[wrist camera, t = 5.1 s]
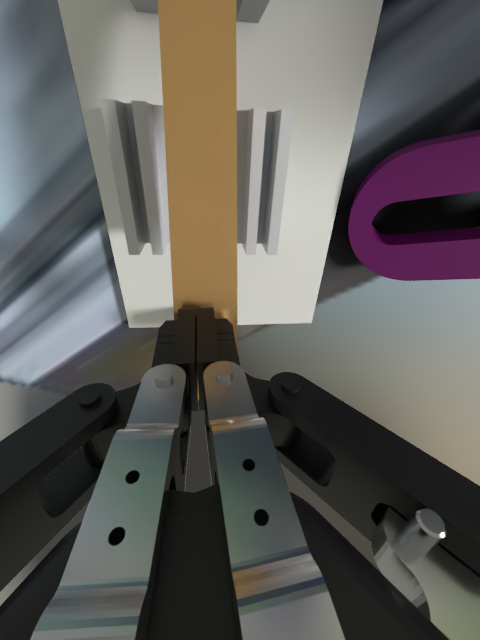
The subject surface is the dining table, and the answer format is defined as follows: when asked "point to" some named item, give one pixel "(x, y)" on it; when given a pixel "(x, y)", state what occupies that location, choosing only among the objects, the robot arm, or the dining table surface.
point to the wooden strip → (201, 152)
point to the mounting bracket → (417, 183)
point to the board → (265, 79)
